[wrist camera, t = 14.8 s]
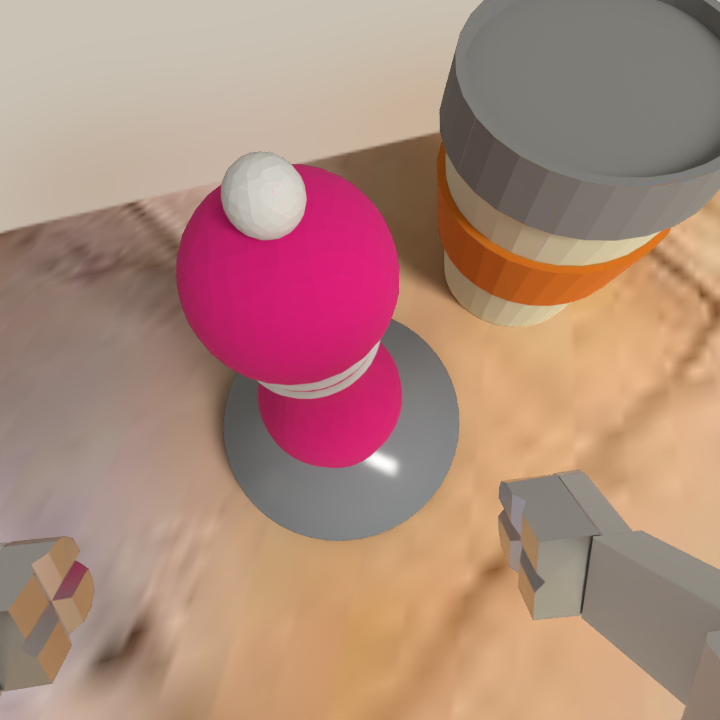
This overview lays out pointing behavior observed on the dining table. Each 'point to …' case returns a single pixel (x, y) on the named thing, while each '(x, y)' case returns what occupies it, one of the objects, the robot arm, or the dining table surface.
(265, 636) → the dining table surface
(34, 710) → the dining table surface
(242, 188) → the pepper mill
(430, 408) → the plate
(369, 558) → the dining table surface
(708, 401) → the dining table surface
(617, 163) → the reusable coffee cup
